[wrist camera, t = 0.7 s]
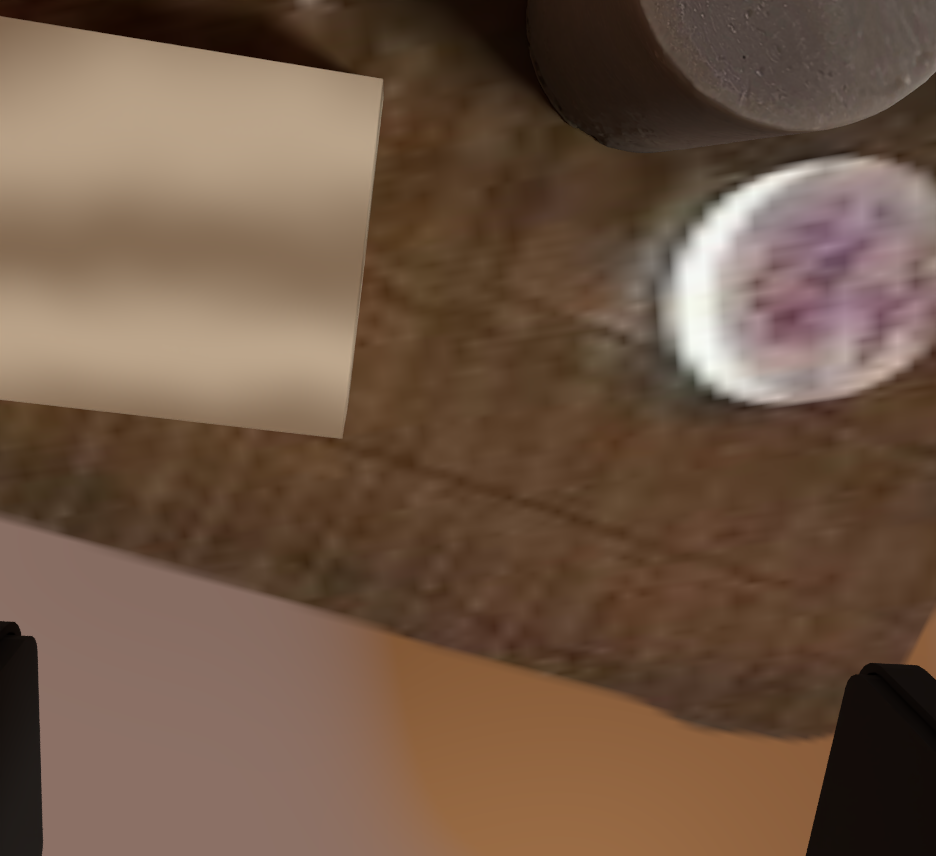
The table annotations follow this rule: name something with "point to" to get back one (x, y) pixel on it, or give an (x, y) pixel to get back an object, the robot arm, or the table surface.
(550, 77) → the pillar candle
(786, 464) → the table surface
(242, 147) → the maple block
